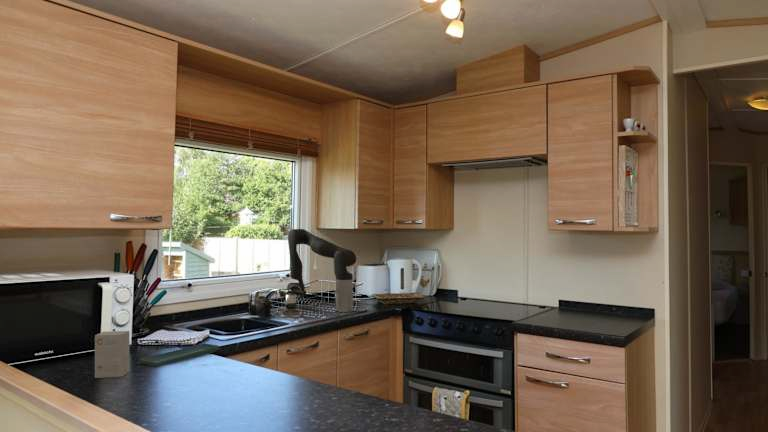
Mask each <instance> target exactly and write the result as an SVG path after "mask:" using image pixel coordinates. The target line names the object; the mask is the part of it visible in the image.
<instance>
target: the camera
mask: <svg viewBox="0 0 768 432" xmlns="http://www.w3.org/2000/svg"><path fill="white" fill-rule="evenodd" d="M255 302H256V303H255V304H251V305H249V315H250V316H253V317H254V316H258V317H260V318H262V319H267V320H268V319H271V318H272V317H271V315H272V314H271V311H272V309H271V308H272V301H271V300H269V298H266V296H265V295H260V296H257V298H256V299H255Z"/></svg>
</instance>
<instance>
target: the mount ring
mask: <svg viewBox="0 0 768 432" xmlns="http://www.w3.org/2000/svg"><path fill="white" fill-rule="evenodd" d="M300 312H301V310H299V309H296V312H286V309H285V310H282V311H281V314H282V315H286V316H293V315H299V314H300Z"/></svg>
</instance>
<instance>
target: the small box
mask: <svg viewBox="0 0 768 432" xmlns="http://www.w3.org/2000/svg"><path fill="white" fill-rule="evenodd" d="M130 345H131V343H130V330H118V331H117V330H115V331H114V330H113V331H111V330H110V331H102V332H100V333H97V334H95V335H94V378H95V379H102V378H122V377H124V376H125V375H127V374H129V372H131V371H130V362H131V360H130V359H131V358H130V357H131V356H130V355H131V354H130V352H131V351H130Z"/></svg>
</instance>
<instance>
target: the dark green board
mask: <svg viewBox="0 0 768 432" xmlns="http://www.w3.org/2000/svg"><path fill="white" fill-rule="evenodd" d="M219 349H220V345H216V344H211V343H205V342H203V343H199V344H196V345H193V346H188V347H184V348H180V349H176V350H171V351H168V352H163V353H159V354H155V355H154V354H153V355H151V356H150V355H149V356H147V357H143V358H142V357H141V358H140V361H141V363H142V364H143V365H146V366H152V367H154V368H155V367H156V368H158V367H162V366H165V365H169V364H174V363H178V362H182V361H186V360H189V359H193V358H197V357H201V356H204V355H209V354H214V353H216V352H217V351H218V350H219Z"/></svg>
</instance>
